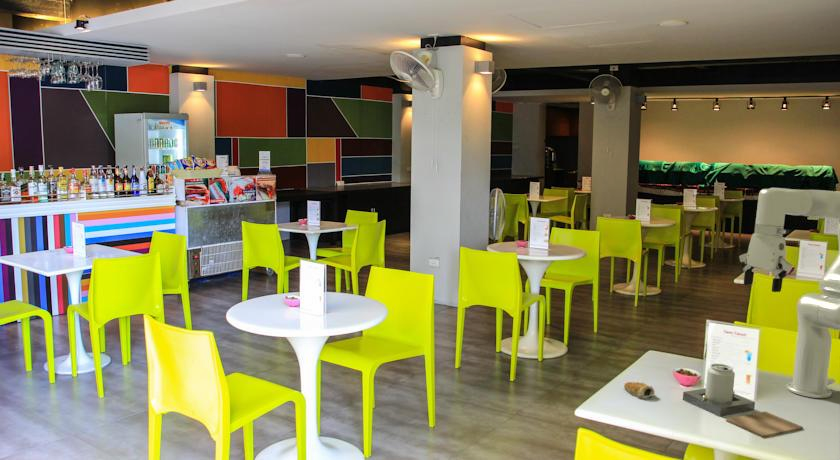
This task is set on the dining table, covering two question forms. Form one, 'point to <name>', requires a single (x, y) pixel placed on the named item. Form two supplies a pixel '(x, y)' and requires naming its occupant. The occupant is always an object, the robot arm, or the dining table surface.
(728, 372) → the can
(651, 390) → the pastry
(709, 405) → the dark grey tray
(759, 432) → the mat
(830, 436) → the dining table surface
